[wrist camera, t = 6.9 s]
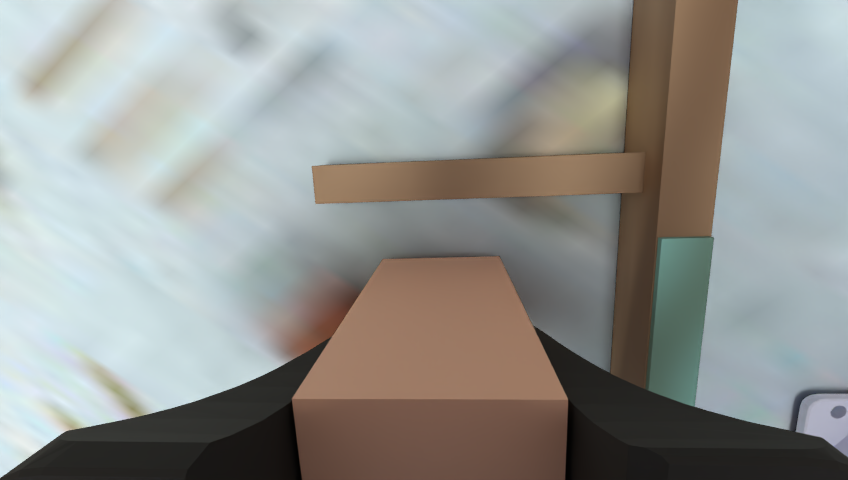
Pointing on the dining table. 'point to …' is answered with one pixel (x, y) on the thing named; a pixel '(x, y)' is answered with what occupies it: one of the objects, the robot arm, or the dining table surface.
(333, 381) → the terracotta block
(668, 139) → the brown open frame
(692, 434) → the robot arm
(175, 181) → the dining table surface
